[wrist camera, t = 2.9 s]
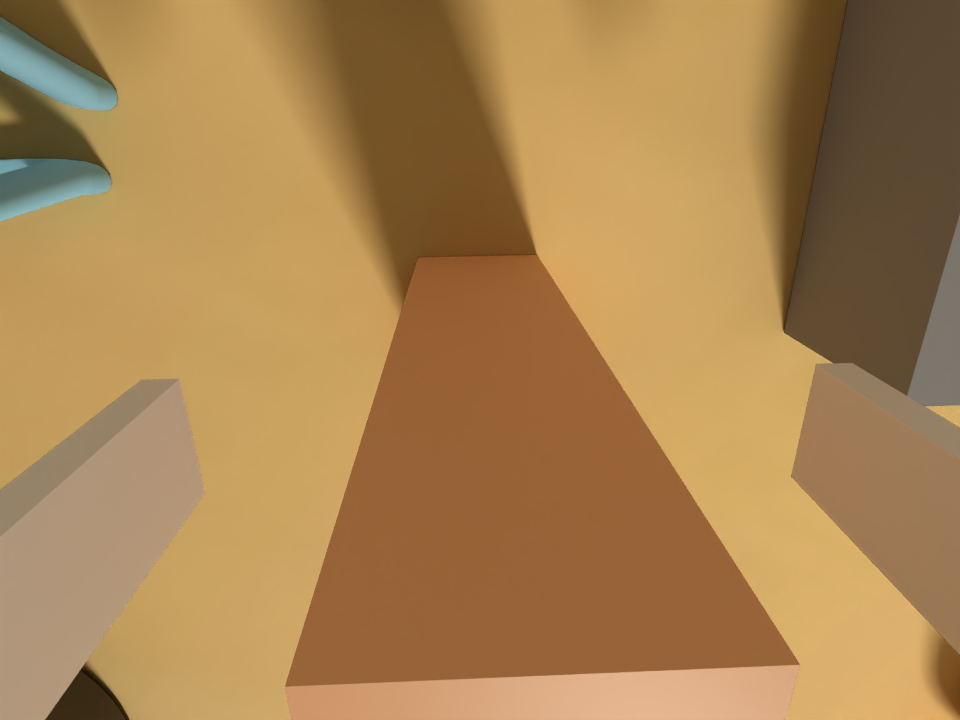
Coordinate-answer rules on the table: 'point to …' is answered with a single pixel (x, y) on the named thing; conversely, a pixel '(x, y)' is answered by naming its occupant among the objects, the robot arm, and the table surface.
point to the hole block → (888, 203)
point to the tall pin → (522, 536)
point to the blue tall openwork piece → (12, 51)
